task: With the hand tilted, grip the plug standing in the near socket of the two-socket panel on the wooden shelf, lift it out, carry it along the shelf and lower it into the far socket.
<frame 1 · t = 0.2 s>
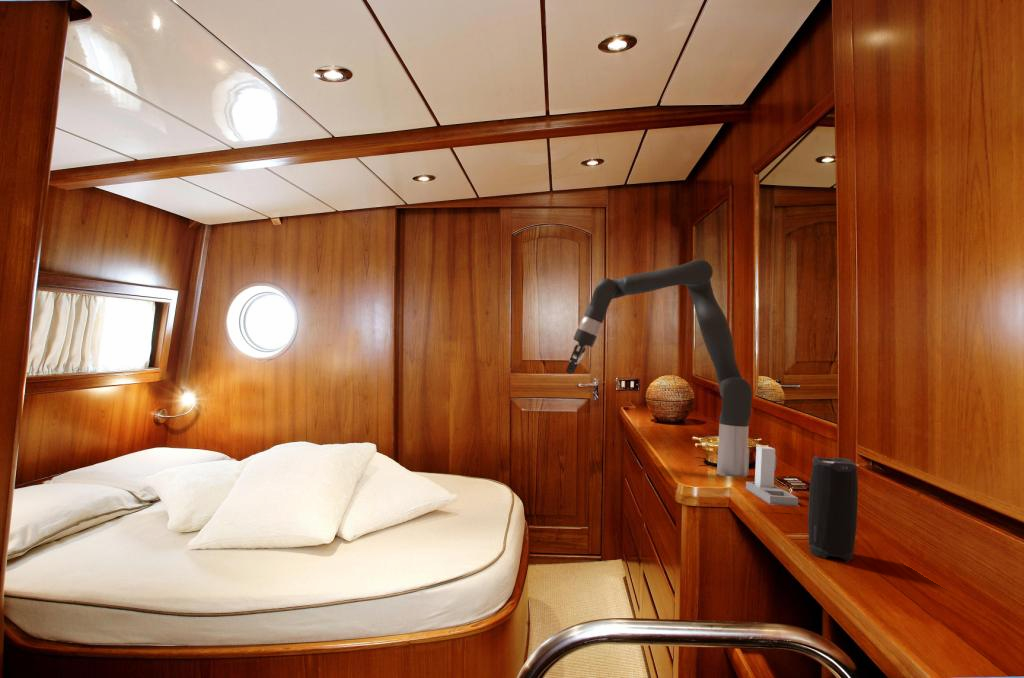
hand: (569, 372, 197), 31 cm above the cabinet, tool tilted 20°, fingers open, 8 cm apart
panel: (770, 499, 155), on the cabinet
plug: (763, 492, 159), point 1 cm above the cabinet, touching panel
portable speaker: (830, 555, 112), on the cabinet
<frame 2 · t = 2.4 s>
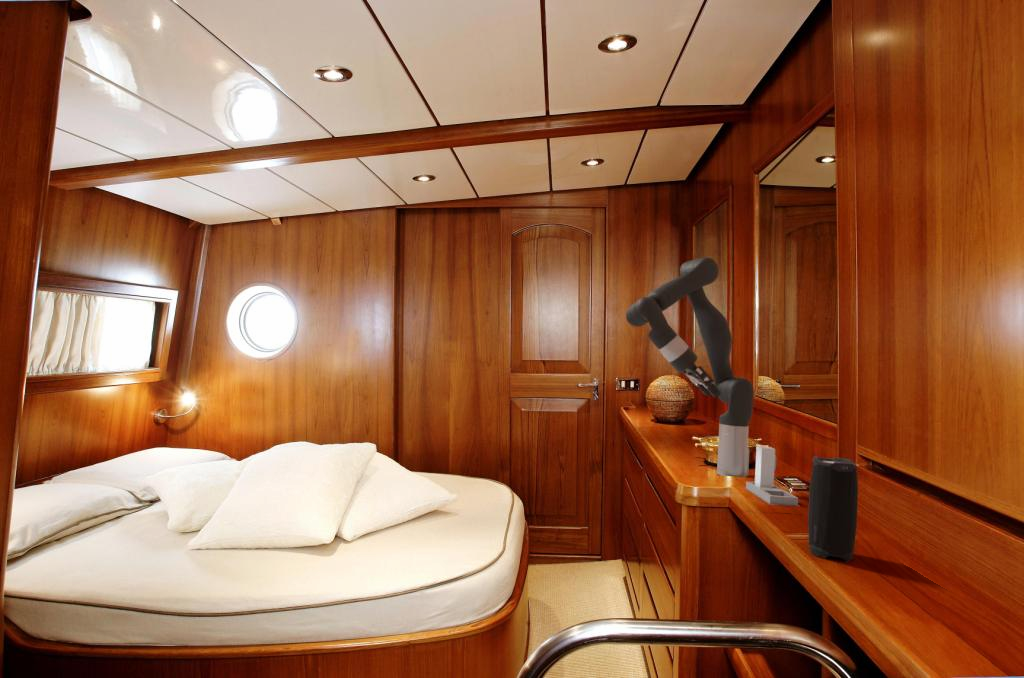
hand: (713, 394, 164), 28 cm above the cabinet, tool tilted 45°, fingers open, 8 cm apart
nothing on the cabinet moved.
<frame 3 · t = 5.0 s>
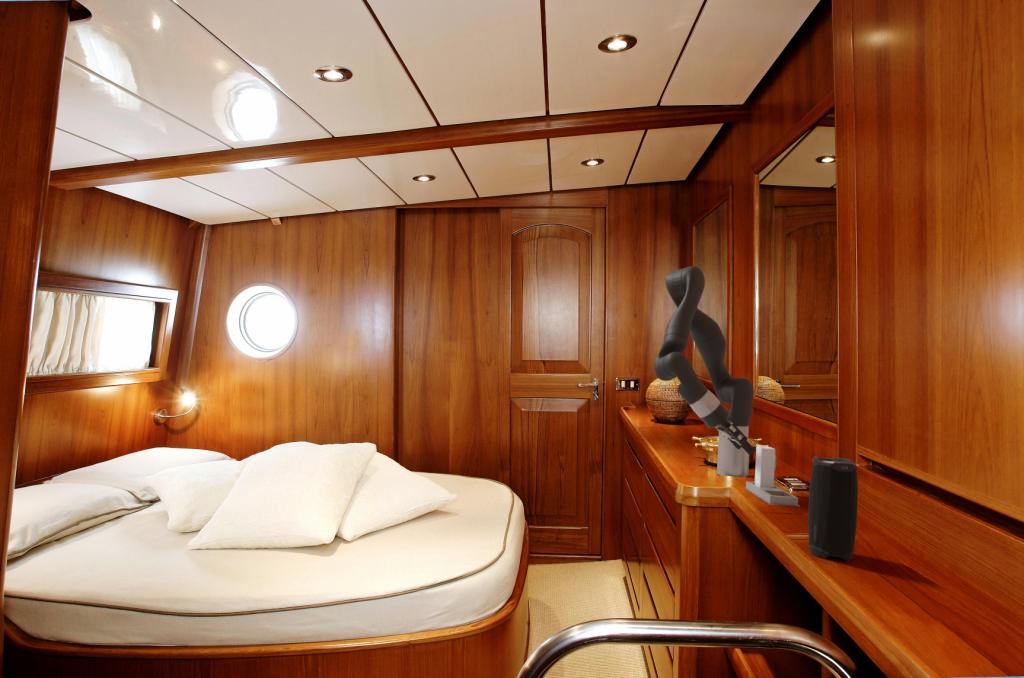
hand: (746, 449, 160), 13 cm above the cabinet, tool tilted 45°, fingers open, 8 cm apart
nothing on the cabinet moved.
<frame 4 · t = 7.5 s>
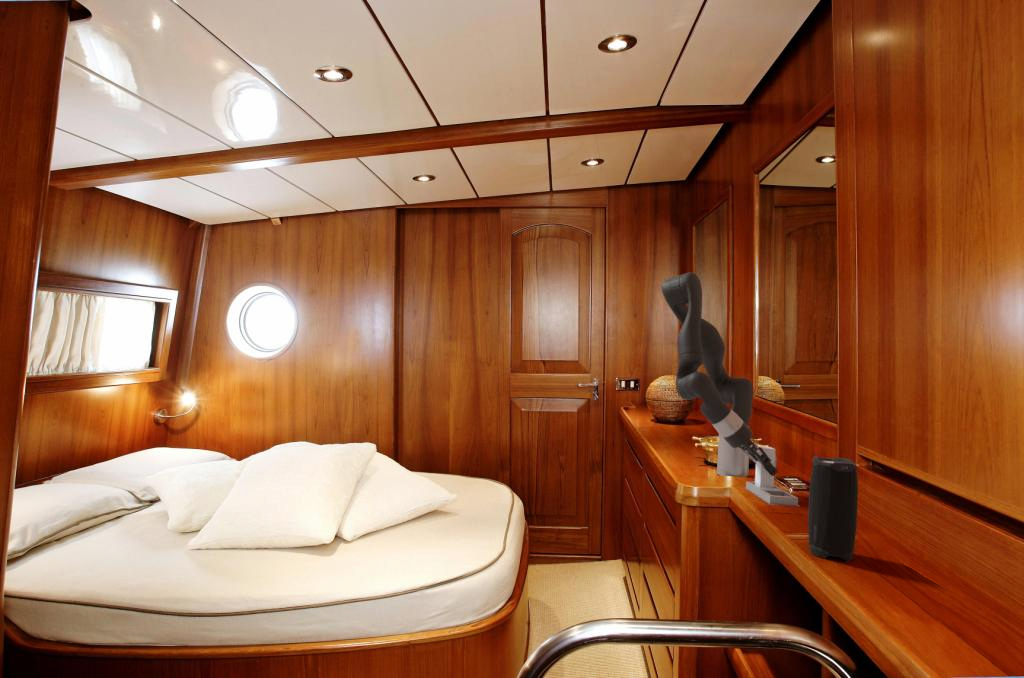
hand: (771, 471, 160), 7 cm above the cabinet, tool tilted 45°, fingers closed on plug, 3 cm apart
plug: (763, 492, 159), point 1 cm above the cabinet, touching gripper, panel
everything else where it was.
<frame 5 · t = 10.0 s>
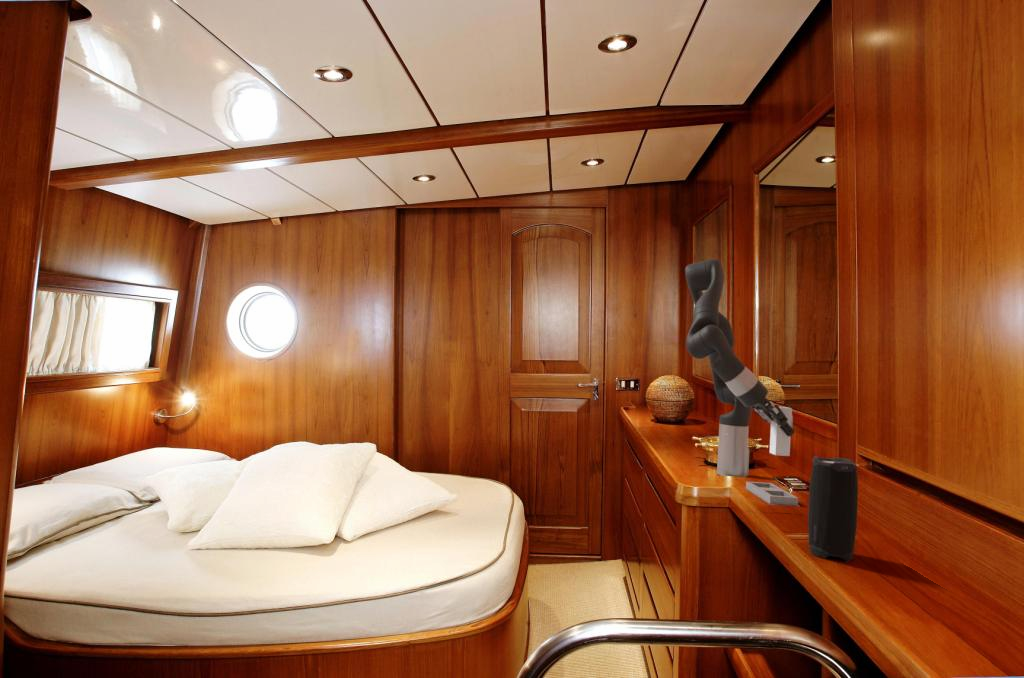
hand: (787, 432, 151), 20 cm above the cabinet, tool tilted 45°, fingers closed on plug, 3 cm apart
plug: (779, 454, 151), point 14 cm above the cabinet, touching gripper
everything else where it was.
when the fingers open (8 cm above the cabinet, at t = 12.9 s): plug drops 1 cm, resting on panel.
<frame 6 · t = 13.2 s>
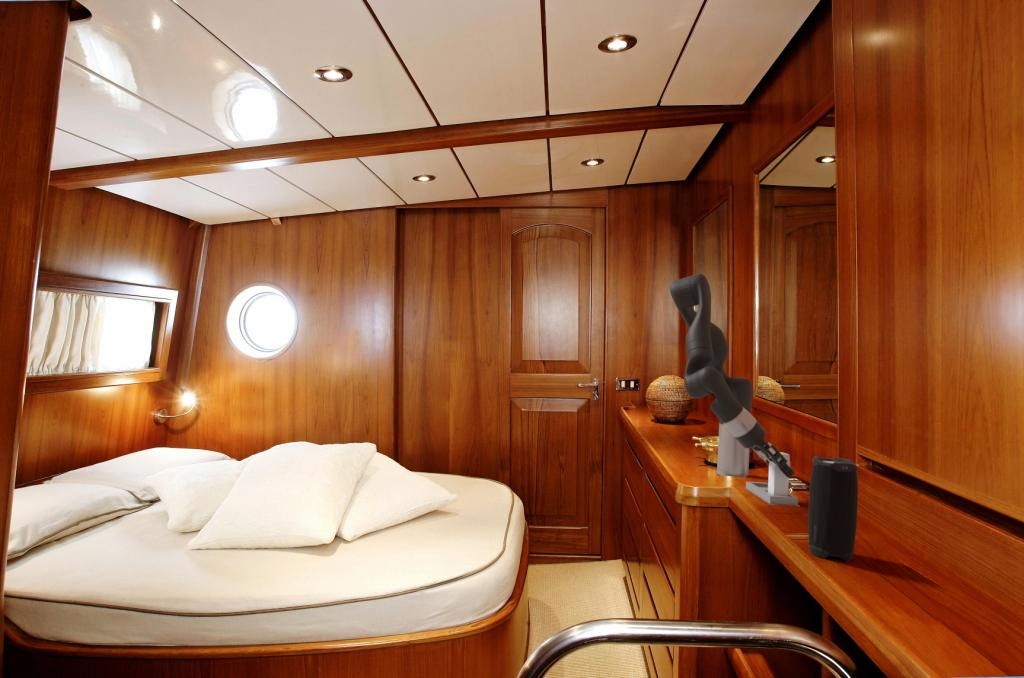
hand: (784, 472, 151), 9 cm above the cabinet, tool tilted 45°, fingers open, 6 cm apart
plug: (777, 500, 150), point 1 cm above the cabinet, touching panel
everything else where it was.
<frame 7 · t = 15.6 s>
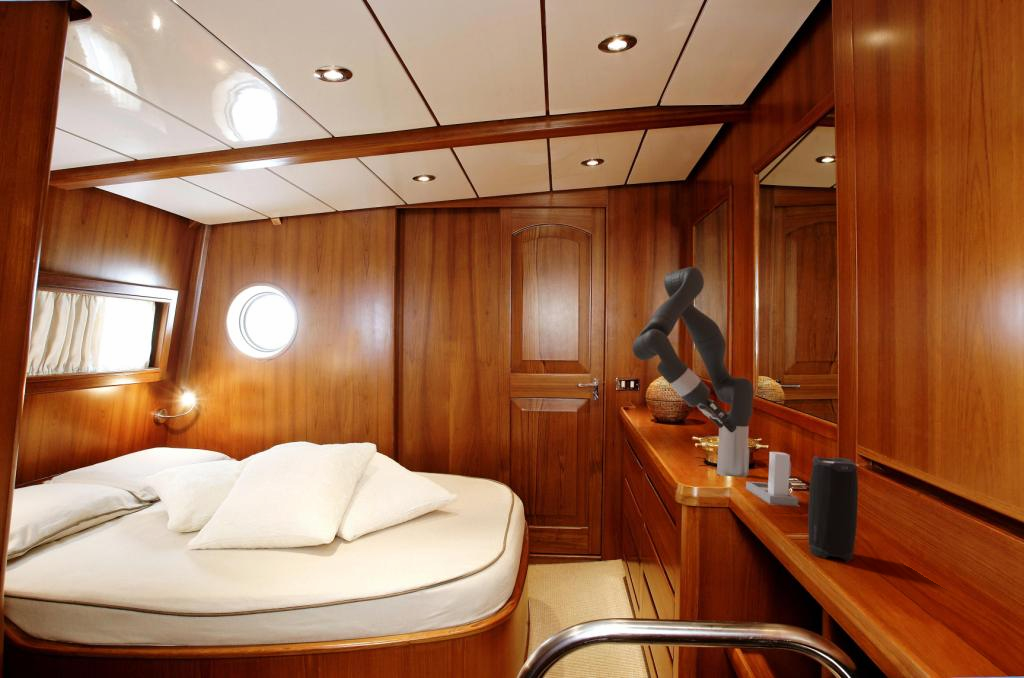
hand: (728, 428, 157), 19 cm above the cabinet, tool tilted 45°, fingers open, 8 cm apart
nothing on the cabinet moved.
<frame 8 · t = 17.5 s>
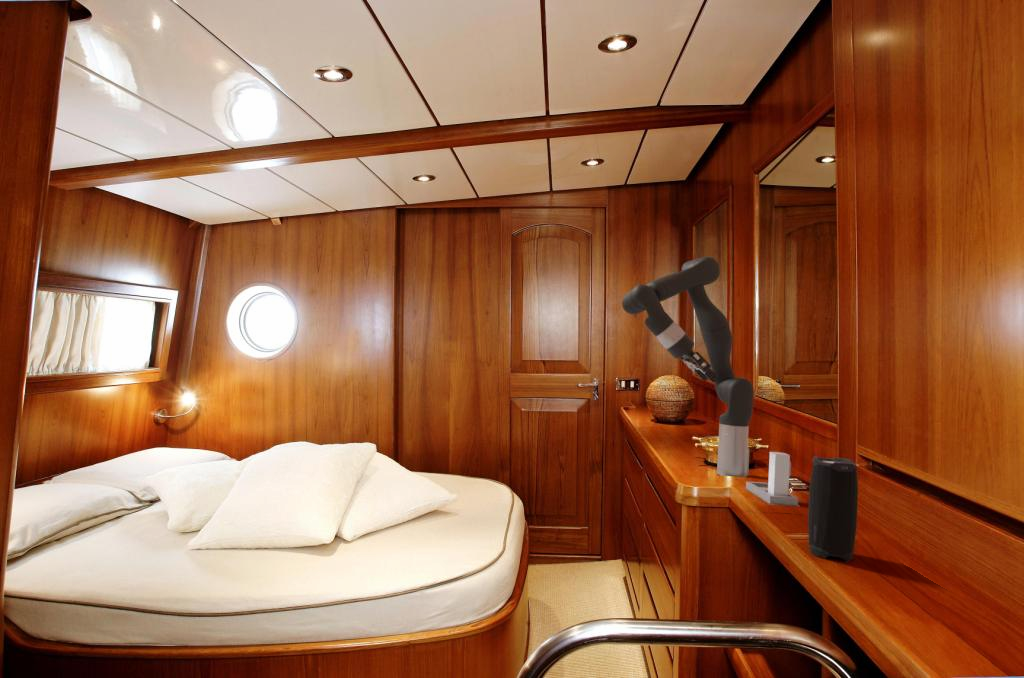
hand: (711, 379, 165), 33 cm above the cabinet, tool tilted 45°, fingers open, 8 cm apart
nothing on the cabinet moved.
at the end: plug 0.1 cm from the target spot on the panel, point 1.0 cm above the panel's base; plug tilted 0°; the gripper is holding nothing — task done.
